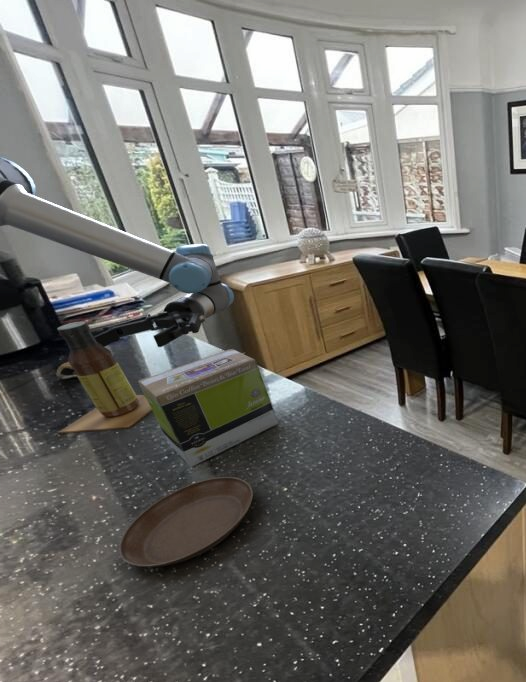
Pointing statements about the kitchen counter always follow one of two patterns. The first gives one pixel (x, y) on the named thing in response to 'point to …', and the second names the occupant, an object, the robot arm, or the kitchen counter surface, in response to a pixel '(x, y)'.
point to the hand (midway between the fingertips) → (124, 343)
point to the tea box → (210, 404)
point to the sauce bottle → (98, 371)
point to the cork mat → (109, 419)
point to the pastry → (66, 371)
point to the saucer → (186, 522)
